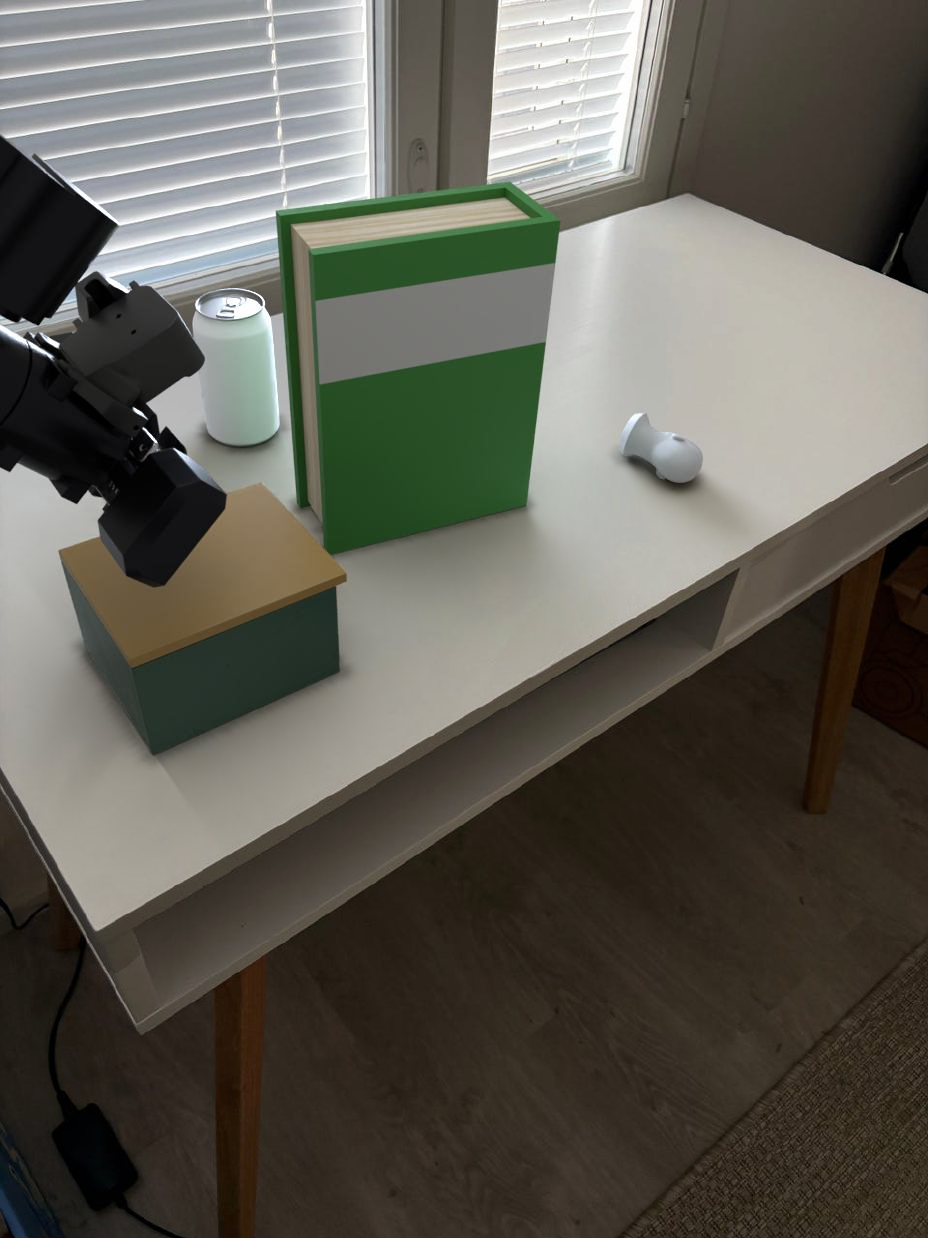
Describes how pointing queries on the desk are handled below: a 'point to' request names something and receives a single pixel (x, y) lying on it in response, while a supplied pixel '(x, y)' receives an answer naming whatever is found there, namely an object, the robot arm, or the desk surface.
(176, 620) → the lid
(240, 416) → the can
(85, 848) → the desk surface
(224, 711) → the dark green open box
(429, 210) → the hardback book
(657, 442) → the smooth white sculpture
